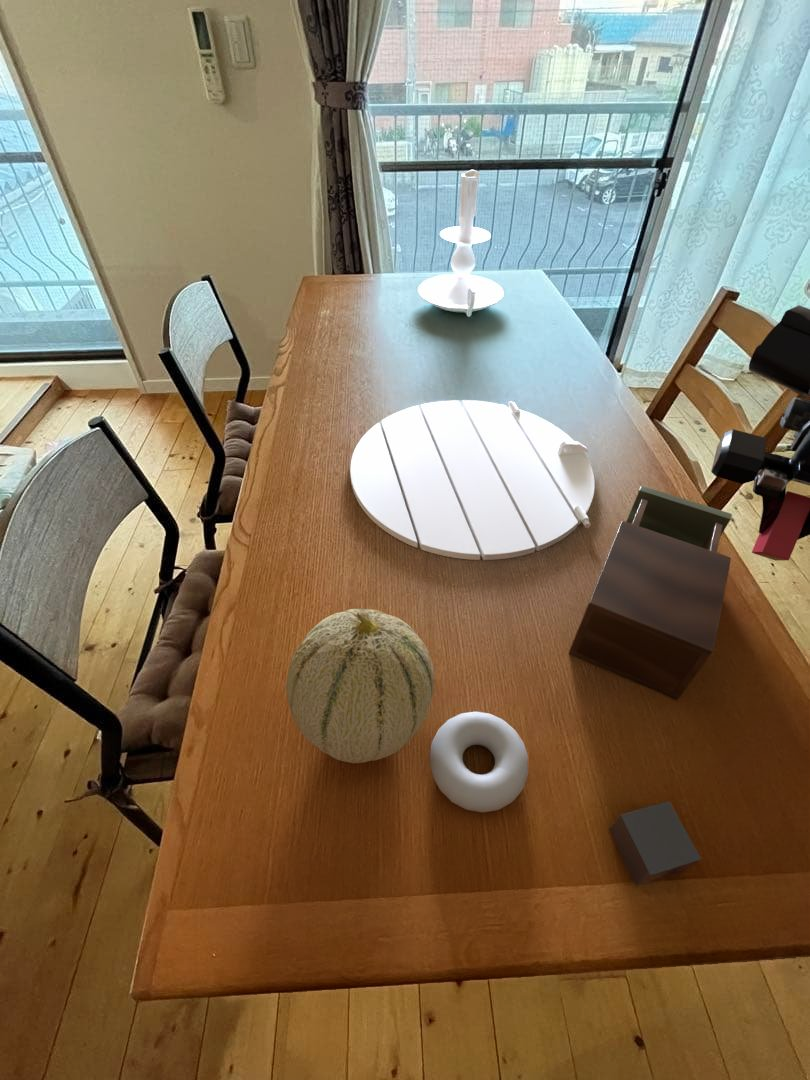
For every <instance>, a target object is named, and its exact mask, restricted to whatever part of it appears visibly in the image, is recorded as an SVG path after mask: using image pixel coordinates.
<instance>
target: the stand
mask: <svg viewBox="0 0 810 1080" xmlns="http://www.w3.org/2000/svg"><path fill="white" fill-rule="evenodd" d="M608 830H609V832H610V835H611V837H612V839H613V841H614V843H615V845H616V847H617V850H618V852H619V854H620V855H621V858H622V861H623V862H624V864H625V867H626V868H627V871H628V873H629V875H630V877H631V879H632V881H633V883H634V886H635V887H639V886H643V885H645V884H649V883H652V882H655V881H659V880H662V879H666V878H668V877H672V876H675V875H677V874H680V873H684V872H686V871H687V870H689V869H690V868H691V867H693V866H694V865H696V864H697V863H699V862H700V861H702V857H701V855H700V853H699V852H698V850H697V848H696V846H695V845H694V843H693V841H692V839H691V838H690V835H689V834H688V831H687V830H686V829H685V826H684V825H683V823H682V821H681V820H680V818H679V816H678V814H677V812H676V811H675V808H674V807H673V805H672V803H671V802H670V800H666V801H662V802H660V803H656V804H653V805H649V806H646V807H641V808H638V809H636V810H632V811H629V812H624V813H622V814H620V815H618V817H617V818H616V820H614V821H613V823H612V824H611V825H610V826H609V827H608Z"/></svg>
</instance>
